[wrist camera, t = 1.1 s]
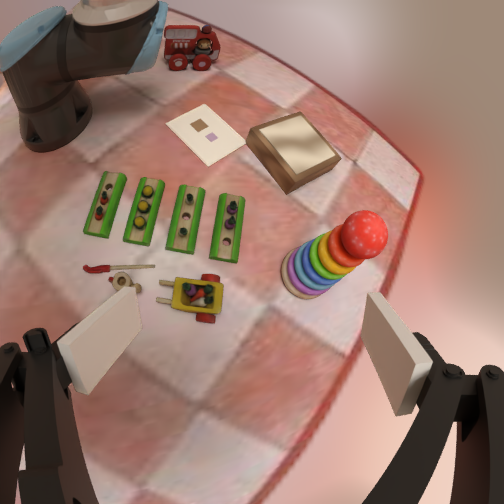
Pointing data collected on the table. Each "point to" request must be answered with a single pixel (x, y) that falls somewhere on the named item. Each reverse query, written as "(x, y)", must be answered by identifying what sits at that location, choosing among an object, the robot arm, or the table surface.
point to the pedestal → (292, 150)
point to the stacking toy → (333, 254)
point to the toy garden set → (169, 237)
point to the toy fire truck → (190, 46)
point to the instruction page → (206, 134)
